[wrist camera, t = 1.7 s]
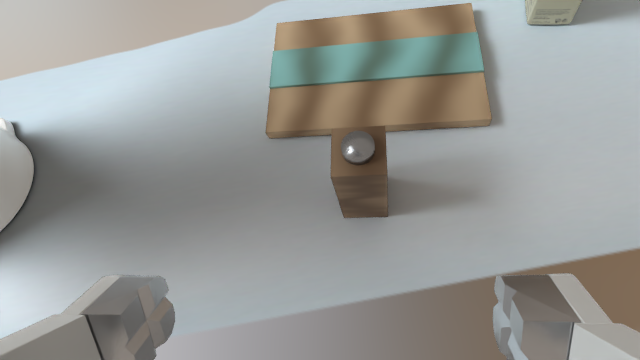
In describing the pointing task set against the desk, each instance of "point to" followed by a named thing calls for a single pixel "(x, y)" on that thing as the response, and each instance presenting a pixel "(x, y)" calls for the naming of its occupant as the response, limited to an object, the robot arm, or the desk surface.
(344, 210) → the walnut post
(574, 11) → the skincare box
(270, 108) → the tan flat board
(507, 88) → the desk surface
